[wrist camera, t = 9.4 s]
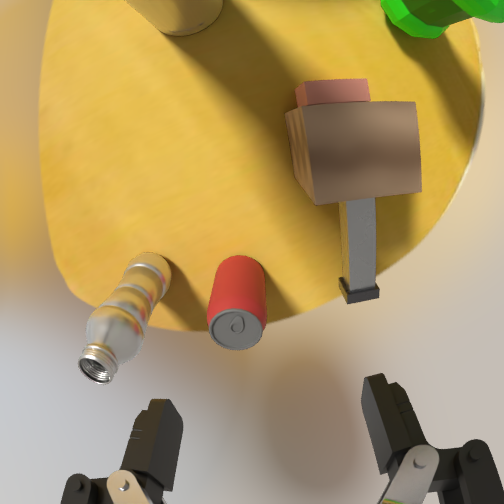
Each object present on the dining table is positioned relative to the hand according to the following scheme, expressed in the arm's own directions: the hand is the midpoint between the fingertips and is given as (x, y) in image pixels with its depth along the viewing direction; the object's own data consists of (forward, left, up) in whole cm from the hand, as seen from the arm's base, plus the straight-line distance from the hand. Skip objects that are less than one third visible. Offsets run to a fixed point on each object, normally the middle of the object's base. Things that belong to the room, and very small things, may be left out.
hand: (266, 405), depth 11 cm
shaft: (0, +10, -22) cm, 24 cm away
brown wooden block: (-7, +10, -28) cm, 31 cm away
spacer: (-13, +10, -28) cm, 32 cm away
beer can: (+9, -4, -28) cm, 30 cm away
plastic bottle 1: (+6, -16, -28) cm, 33 cm away
